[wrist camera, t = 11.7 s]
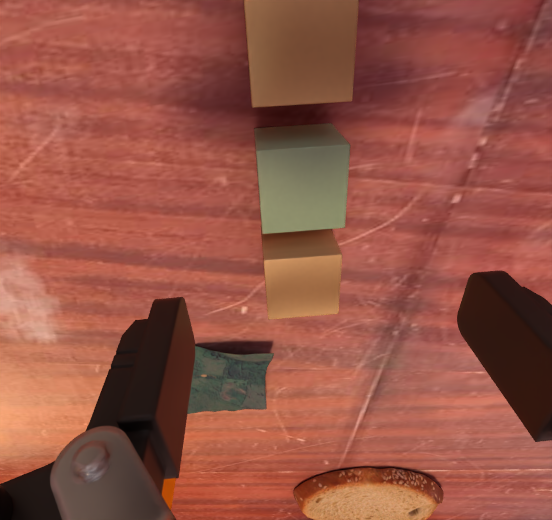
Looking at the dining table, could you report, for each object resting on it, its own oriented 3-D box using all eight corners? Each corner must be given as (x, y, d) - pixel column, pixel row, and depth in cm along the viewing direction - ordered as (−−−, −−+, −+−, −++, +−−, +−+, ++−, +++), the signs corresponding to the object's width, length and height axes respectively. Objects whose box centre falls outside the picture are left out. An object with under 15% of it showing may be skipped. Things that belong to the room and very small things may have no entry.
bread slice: (283, 486, 49) (286, 518, 45) (411, 441, 45) (424, 472, 42) (337, 531, 58) (343, 560, 55) (447, 496, 54) (460, 525, 51)
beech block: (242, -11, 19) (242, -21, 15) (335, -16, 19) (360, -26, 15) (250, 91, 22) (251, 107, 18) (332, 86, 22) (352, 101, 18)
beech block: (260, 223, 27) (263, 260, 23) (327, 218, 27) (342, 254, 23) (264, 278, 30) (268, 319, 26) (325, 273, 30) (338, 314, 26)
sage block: (254, 127, 23) (256, 150, 19) (331, 122, 23) (350, 144, 19) (259, 200, 26) (262, 234, 22) (328, 195, 26) (345, 228, 22)
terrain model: (141, 400, 37) (136, 416, 35) (130, 342, 33) (125, 357, 31) (268, 396, 38) (269, 412, 36) (272, 340, 34) (274, 355, 32)
